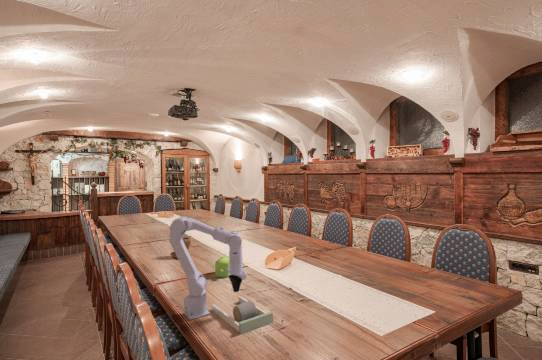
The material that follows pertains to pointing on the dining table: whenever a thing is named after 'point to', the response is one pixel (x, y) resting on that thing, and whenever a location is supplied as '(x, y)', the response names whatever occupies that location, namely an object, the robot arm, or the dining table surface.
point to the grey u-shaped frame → (250, 323)
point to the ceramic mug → (244, 311)
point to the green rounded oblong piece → (222, 267)
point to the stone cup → (187, 243)
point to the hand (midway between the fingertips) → (236, 291)
